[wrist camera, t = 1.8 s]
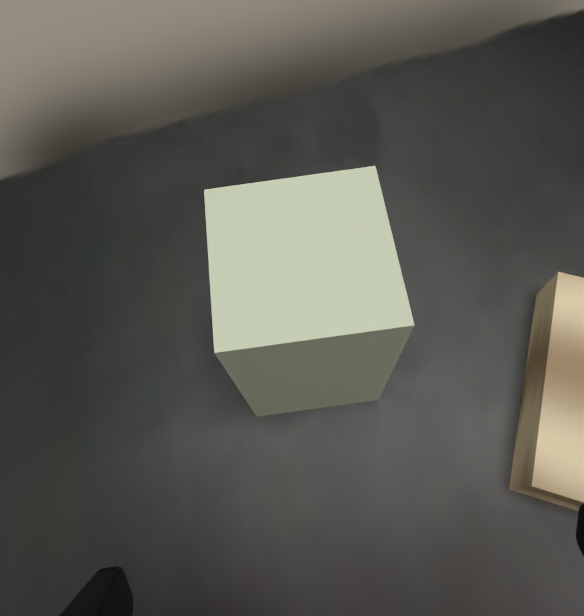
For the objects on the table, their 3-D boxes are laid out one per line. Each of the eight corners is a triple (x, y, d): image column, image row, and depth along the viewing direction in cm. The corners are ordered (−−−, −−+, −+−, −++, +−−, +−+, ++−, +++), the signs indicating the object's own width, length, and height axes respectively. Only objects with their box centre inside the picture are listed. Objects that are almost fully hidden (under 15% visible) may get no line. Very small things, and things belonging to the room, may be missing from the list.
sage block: (378, 400, 23) (414, 325, 14) (256, 416, 23) (214, 352, 14) (356, 290, 26) (375, 165, 17) (246, 305, 26) (204, 189, 17)
